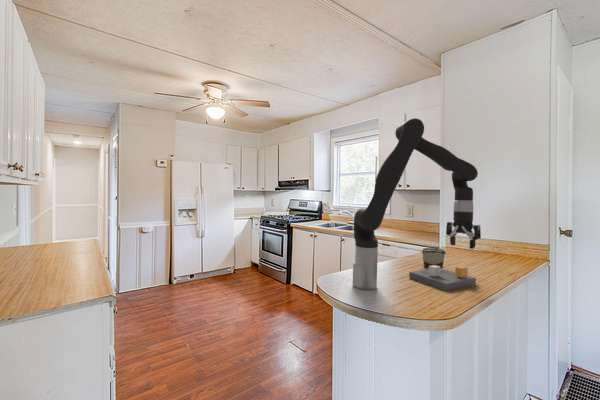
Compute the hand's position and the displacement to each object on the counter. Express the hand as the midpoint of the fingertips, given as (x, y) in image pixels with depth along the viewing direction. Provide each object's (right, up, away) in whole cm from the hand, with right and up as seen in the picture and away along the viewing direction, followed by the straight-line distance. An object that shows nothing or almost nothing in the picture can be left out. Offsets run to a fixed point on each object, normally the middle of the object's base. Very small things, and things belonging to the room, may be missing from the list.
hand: (462, 246), depth 123 cm
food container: (0, -16, +29) cm, 33 cm away
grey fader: (-12, -13, +1) cm, 18 cm away
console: (-8, -16, +3) cm, 18 cm away
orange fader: (0, -13, 0) cm, 13 cm away
